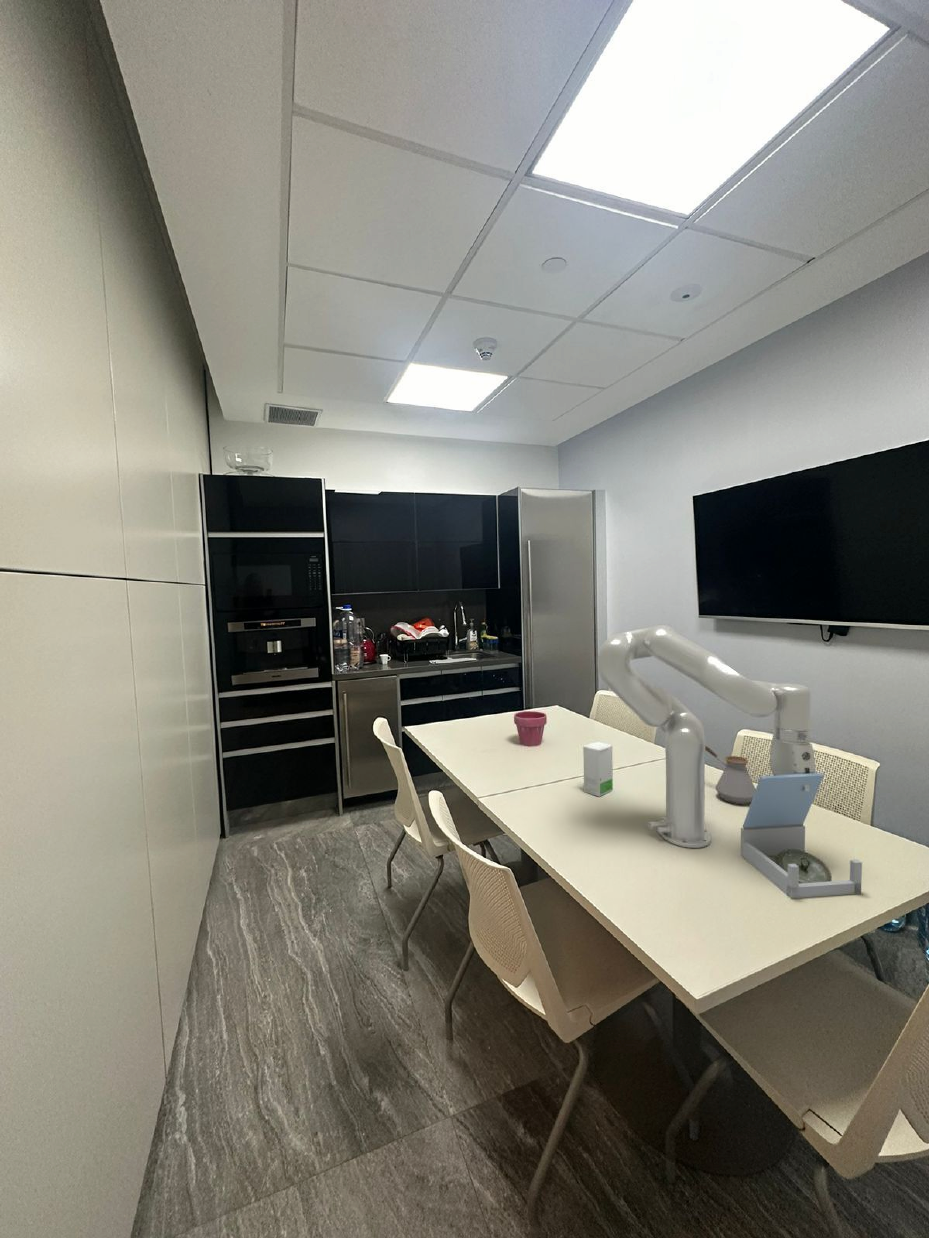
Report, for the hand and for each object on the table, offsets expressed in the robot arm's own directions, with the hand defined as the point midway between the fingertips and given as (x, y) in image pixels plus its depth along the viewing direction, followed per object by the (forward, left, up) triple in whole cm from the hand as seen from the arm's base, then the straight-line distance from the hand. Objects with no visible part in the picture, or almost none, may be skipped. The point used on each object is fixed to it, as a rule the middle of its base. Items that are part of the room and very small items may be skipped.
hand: (789, 806), depth 122 cm
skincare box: (-34, +43, -13) cm, 57 cm away
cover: (-4, -3, +2) cm, 6 cm away
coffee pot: (+5, +36, -13) cm, 39 cm away
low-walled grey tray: (-4, -8, -12) cm, 15 cm away
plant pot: (-46, +96, -13) cm, 108 cm away
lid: (-4, -9, -13) cm, 16 cm away
